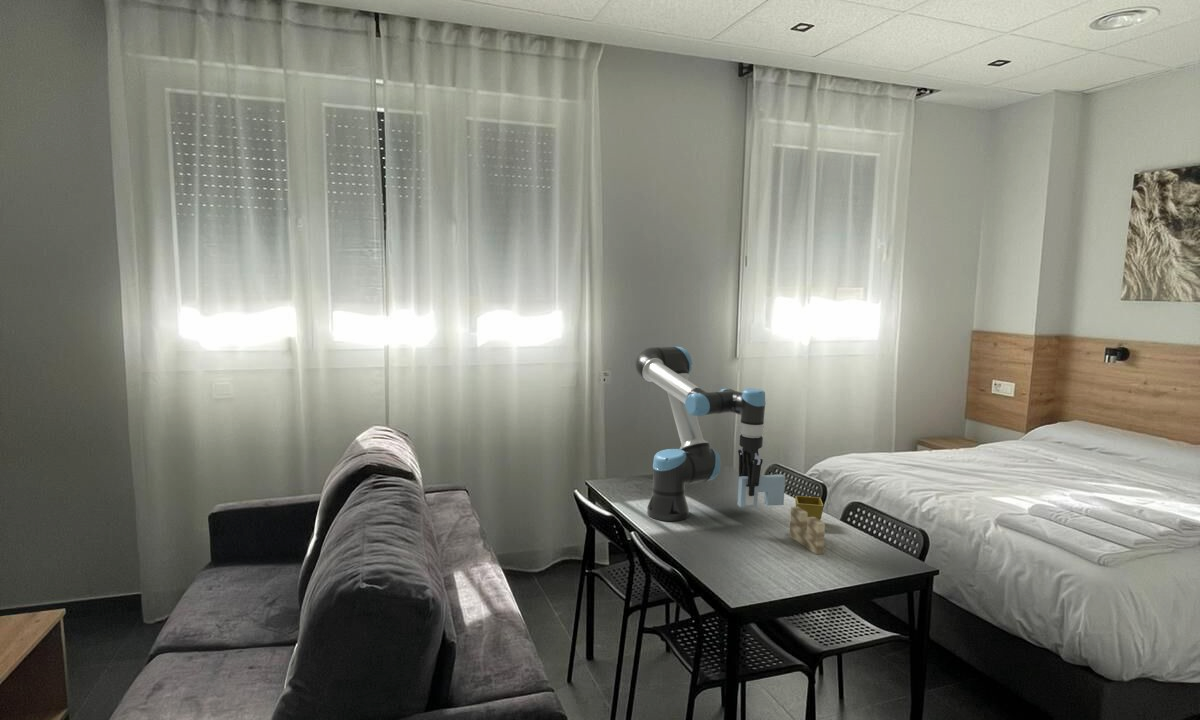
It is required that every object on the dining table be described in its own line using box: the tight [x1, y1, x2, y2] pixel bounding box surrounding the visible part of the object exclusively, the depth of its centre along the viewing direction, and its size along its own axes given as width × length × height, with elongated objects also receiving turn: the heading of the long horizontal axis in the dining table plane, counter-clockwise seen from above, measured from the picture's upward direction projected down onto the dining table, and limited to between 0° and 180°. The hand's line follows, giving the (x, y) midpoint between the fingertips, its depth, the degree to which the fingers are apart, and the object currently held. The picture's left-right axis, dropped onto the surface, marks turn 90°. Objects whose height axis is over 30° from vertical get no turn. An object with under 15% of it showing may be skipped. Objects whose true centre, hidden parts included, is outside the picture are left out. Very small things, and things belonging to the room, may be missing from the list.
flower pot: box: [795, 495, 824, 521], centre depth 230 cm, size 9×9×9 cm
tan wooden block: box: [789, 506, 826, 555], centre depth 212 cm, size 16×2×10 cm, turn 14°
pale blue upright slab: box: [736, 474, 786, 508], centre depth 222 cm, size 16×2×10 cm, turn 104°
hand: (747, 502), depth 221 cm, fingers closed on pale blue upright slab, 2 cm apart
